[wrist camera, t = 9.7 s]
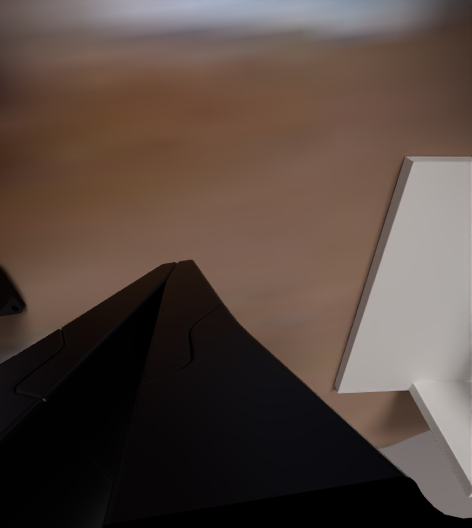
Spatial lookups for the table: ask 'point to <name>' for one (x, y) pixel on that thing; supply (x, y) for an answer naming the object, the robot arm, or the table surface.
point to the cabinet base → (422, 305)
